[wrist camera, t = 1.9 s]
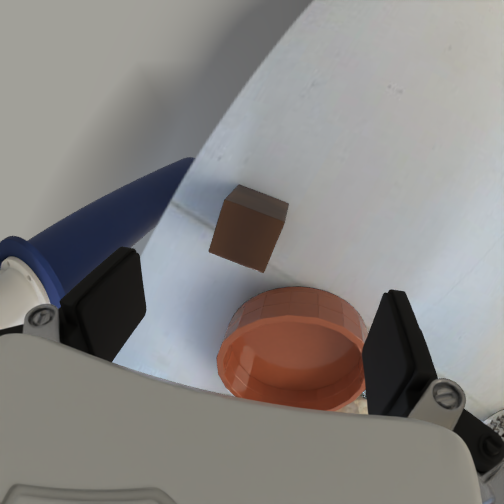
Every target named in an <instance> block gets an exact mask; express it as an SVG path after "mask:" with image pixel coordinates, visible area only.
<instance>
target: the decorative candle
mask: <svg viewBox="0 0 504 504" xmlns="http://www.w3.org/2000/svg"><path fill="white" fill-rule="evenodd" d="M483 423H484V424H486V425H487V426H488V427H490V428H491V429H492V430H494V431H495V432H497V433H498V434H499V435H500V436H501V438H502V439H503V441H504V410H502V411H499V412H497V413H496V414H494V415H492V416H491V417H489V418H488V419H486V420H485V421H484V422H483Z"/></svg>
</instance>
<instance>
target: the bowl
mask: <svg viewBox="0 0 504 504" xmlns="http://www.w3.org/2000/svg"><path fill="white" fill-rule="evenodd" d="M367 336H368V331H367V329H366V326H365V323H364V321H363V319H362V317H361V316H360V314H359V313H358V312H357V311H356V310H355V309H354V307H352V306H351V305H350V304H349V303H348V302H346V301H345V300H343V299H341V298H340V297H338V296H336V295H334V294H331V293H329V292H326V291H323V290H319V289H314V288H308V287H284V288H277V289H273V290H269V291H266V292H264V293H261V294H259V295H257V296H255V297H253V298H251V299H250V300H248V301H247V302H245V303H244V304H243V305H242V306H241V307H240V308H239V309H238V310H237V311H236V313H235V314H234V315H233V317H232V319H231V321H230V324H229V326H228V329H227V331H226V334H225V336H224V339H223V342H222V344H221V347H220V350H219V352H218V355H217V368H218V375H219V376H220V378H221V380H222V382H223V383H224V385H225V387H226V388H227V389H228V390H229V391H230V392H231V393H232V394H233V395H234V396H235V397H239V398H244V399H249V400H255V401H260V402H266V403H272V404H278V405H284V406H291V407H298V408H306V409H314V410H323V411H333V412H334V411H337V410H339V409H341V408H343V407H344V406H346V405H348V404H350V403H352V402H353V401H355V400H356V399H357V398H358V397H359V396H360V395H361V393H362V392H363V391H364V390H365V389H366V387H365V377H364V368H363V360H362V349H363V345H364V343H365V341H366V338H367Z"/></svg>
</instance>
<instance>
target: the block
mask: <svg viewBox="0 0 504 504" xmlns="http://www.w3.org/2000/svg"><path fill="white" fill-rule="evenodd" d="M288 206H289V204H288V203H286V202H284V201H281V200H279V199H276V198H274V197H271V196H268V195H266V194H263V193H260V192H258V191H255V190H252V189H250V188H247V187H244V186H242V185H238V186H237V187H236V188H235V189H234V190H233V191H232V192H231V193H230V194H229V195H228V196H227V197H226V199H225V200H224V202H223V206H222V209H221V212H220V215H219V218H218V222H217V225H216V228H215V232H214V235H213V238H212V242H211V245H210V248H209V252H210V253H212V254H215V255H217V256H220V257H222V258H225V259H227V260H230V261H233V262H235V263H238V264H240V265H243V266H245V267H248V268H251V269H253V270H256V271H258V272H261V273H264V271H265V269H266V266H267V264H268V262H269V259H270V257H271V254H272V252H273V250H274V247H275V245H276V242H277V240H278V238H279V235H280V233H281V230H282V228H283V226H284V223H285V219H286V215H287V210H288Z"/></svg>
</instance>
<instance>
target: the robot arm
mask: <svg viewBox="0 0 504 504" xmlns="http://www.w3.org/2000/svg"><path fill="white" fill-rule="evenodd" d="M60 305H61V307H60V308H59V309H58V308H57V307H56V306H54V305H52V304H50V300H49V298H48V295H47V293H46V291H45V288H44V287H43V285H42V283H41V281H40V280H39V278H38V277H37V276H36V274H35V273H34V272H33V270H32V269H31V268H30V267H29V266H28V265H27V264H26V263H25V262H23V261H22V260H20V259H18V258H17V257H13V256H12V257H8V258H6V259H5V260H4V261H3V262H2V264H1V268H0V504H504V441H503V439H502V438H501V436H500V435H499V434H498V433H497V432H495V431H494V430H492V429H491V428H490V427H488V426H487V425H486V424H484V423H483V422H482V421H480V420H479V419H478V418H476V417H475V416H473V415H472V414H471V413H469V412H468V411H467V410H465V409H464V407H465V403H466V397H465V394H464V391H463V390H462V388H461V387H460V386H459V385H458V384H457V383H456V382H454V381H452V380H450V379H446V378H438V377H437V374H436V371H435V368H434V365H433V362H432V359H431V356H430V353H429V350H428V347H427V344H426V342H425V339H424V336H423V333H422V331H421V329H420V328H419V325H418V323H417V320H416V318H415V315H414V312H413V310H412V307H411V305H410V302H409V300H408V298H407V295H406V293H405V292H404V291H398V290H389V292H388V293H384V294H383V296H382V299H381V302H380V305H379V307H378V310H377V313H376V315H375V318H374V321H373V323H372V326H371V328H370V331H369V333H368V336H367V338H366V341H365V343H364V345H363V349H362V360H363V368H364V377H365V387H366V397H367V409H368V414H354V413H343V412H333V411H323V410H314V409H306V408H298V407H291V406H284V405H278V404H272V403H266V402H260V401H255V400H249V399H244V398H239V397H234V396H229V395H225V394H220V393H216V392H211V391H207V390H203V389H199V388H195V387H191V386H187V385H183V384H179V383H176V382H172V381H169V380H165V379H162V378H158V377H155V376H152V375H148V374H145V373H142V372H139V371H136V370H133V369H130V368H127V367H124V366H121V365H118V364H115V363H112V361H113V360H114V358H115V357H116V355H117V354H118V352H119V351H120V350H121V348H122V347H123V345H124V344H125V342H126V341H127V340H128V338H129V337H130V335H131V334H132V333H133V331H134V330H135V328H136V327H137V326H138V324H139V323H140V322H141V320H142V319H143V317H144V316H145V314H146V302H145V295H144V288H143V280H142V272H141V263H140V256H139V254H138V253H136V250H135V249H133V248H127V247H120V248H119V249H117V250H116V251H115V252H114V253H113V254H111V255H110V256H109V257H108V258H107V259H106V260H104V261H103V262H102V263H101V264H100V265H99V266H98V267H96V268H95V269H94V270H93V271H92V272H91V273H90V274H88V275H87V276H86V277H85V278H84V279H83V280H82V281H81V282H80V283H78V284H77V285H76V286H75V287H74V288H73V289H72V290H71V291H70V292H69V293H68V294H67V295H65V296H64V297H63V298H62V299H61V300H60Z"/></svg>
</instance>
